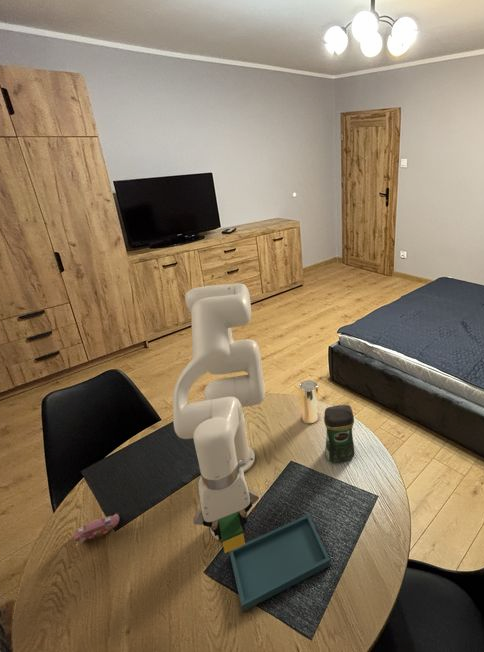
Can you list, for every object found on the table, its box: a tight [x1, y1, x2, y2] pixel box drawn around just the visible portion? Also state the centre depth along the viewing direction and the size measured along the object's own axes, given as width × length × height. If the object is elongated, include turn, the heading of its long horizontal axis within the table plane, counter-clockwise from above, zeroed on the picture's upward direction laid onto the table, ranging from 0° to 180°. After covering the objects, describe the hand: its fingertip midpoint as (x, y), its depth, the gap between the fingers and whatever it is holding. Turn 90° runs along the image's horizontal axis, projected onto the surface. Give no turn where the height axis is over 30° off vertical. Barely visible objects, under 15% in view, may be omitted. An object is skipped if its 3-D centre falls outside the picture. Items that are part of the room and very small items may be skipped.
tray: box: [228, 514, 331, 613], centre depth 91 cm, size 14×22×2 cm, turn 117°
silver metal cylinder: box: [298, 379, 319, 424], centre depth 137 cm, size 7×7×15 cm
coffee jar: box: [323, 404, 355, 463], centre depth 120 cm, size 10×8×19 cm
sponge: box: [218, 512, 246, 554], centre depth 86 cm, size 7×5×5 cm, turn 26°
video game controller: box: [73, 513, 120, 543], centre depth 97 cm, size 10×5×7 cm, turn 117°
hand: (231, 529), depth 85 cm, fingers closed on sponge, 4 cm apart
